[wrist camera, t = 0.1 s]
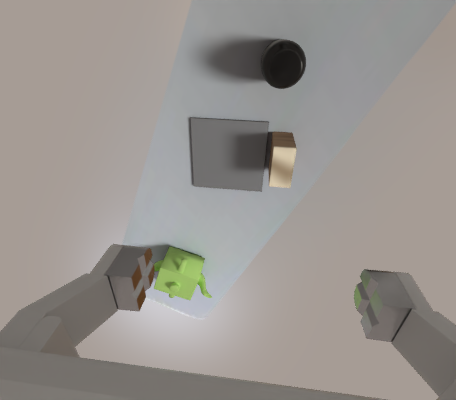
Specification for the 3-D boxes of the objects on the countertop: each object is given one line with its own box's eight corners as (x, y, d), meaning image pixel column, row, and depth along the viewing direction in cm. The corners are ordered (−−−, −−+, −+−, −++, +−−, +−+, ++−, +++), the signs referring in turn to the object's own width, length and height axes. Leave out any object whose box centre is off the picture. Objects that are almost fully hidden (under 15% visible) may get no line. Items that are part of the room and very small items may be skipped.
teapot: (150, 248, 77) (135, 277, 68) (188, 233, 73) (178, 261, 64) (180, 283, 83) (170, 313, 74) (217, 271, 79) (211, 301, 70)
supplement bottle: (268, 87, 51) (268, 100, 41) (256, 49, 48) (254, 53, 38) (304, 72, 49) (314, 82, 39) (294, 31, 46) (302, 31, 36)
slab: (272, 131, 56) (273, 146, 48) (292, 132, 55) (296, 148, 48) (268, 167, 60) (269, 186, 52) (286, 168, 60) (290, 187, 52)
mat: (191, 117, 56) (190, 118, 56) (268, 121, 55) (268, 122, 54) (194, 185, 64) (193, 186, 64) (261, 190, 63) (261, 191, 63)
